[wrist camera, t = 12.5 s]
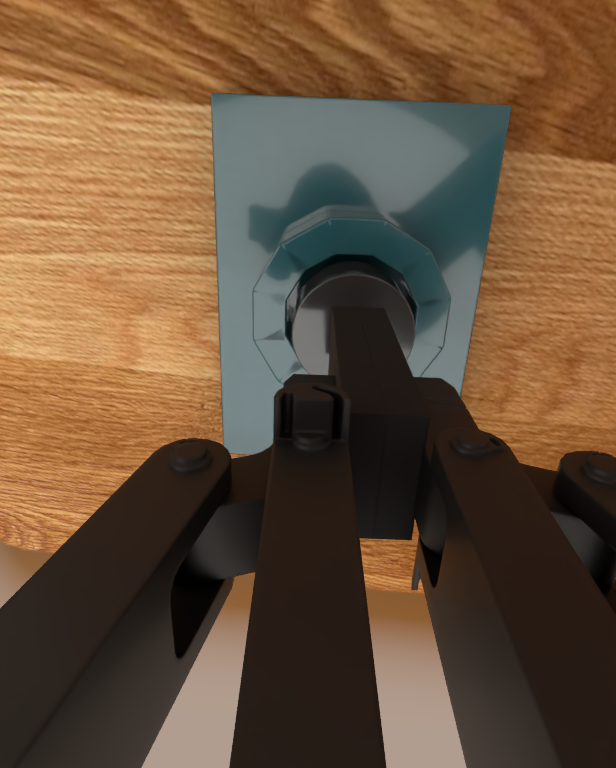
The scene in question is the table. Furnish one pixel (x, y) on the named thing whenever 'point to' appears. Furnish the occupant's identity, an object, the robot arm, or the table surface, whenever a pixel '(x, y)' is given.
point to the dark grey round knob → (350, 289)
